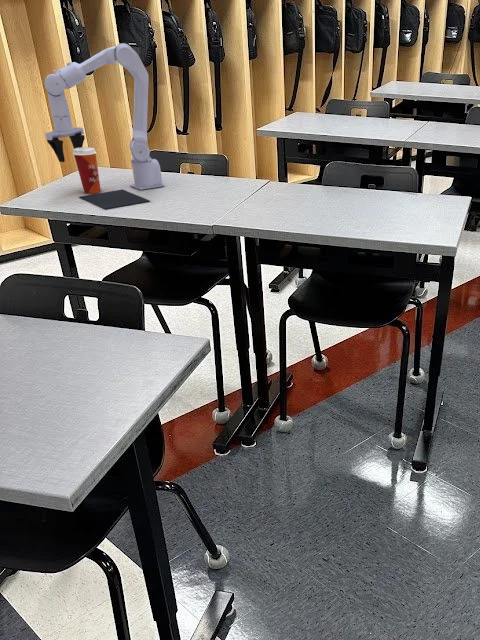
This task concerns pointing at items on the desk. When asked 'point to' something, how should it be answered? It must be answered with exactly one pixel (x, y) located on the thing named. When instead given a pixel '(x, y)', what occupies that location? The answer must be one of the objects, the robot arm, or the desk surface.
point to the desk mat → (114, 199)
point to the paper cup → (87, 169)
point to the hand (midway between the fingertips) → (70, 159)
